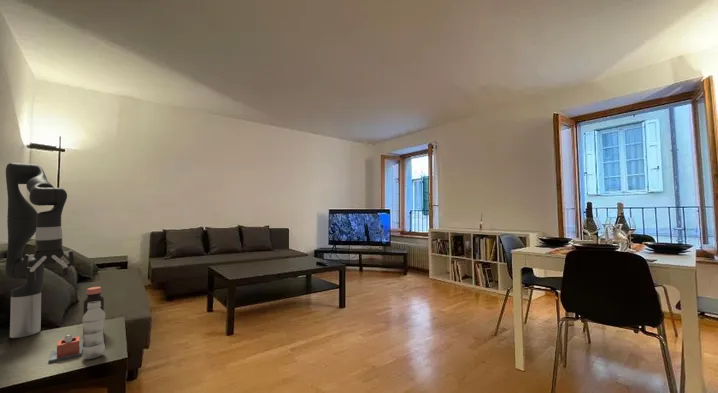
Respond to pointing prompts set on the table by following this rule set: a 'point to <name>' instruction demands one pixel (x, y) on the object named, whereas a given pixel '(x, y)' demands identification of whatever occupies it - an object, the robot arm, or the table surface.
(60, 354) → the link
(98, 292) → the vinegar
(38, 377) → the table surface
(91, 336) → the plastic bottle
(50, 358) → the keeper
